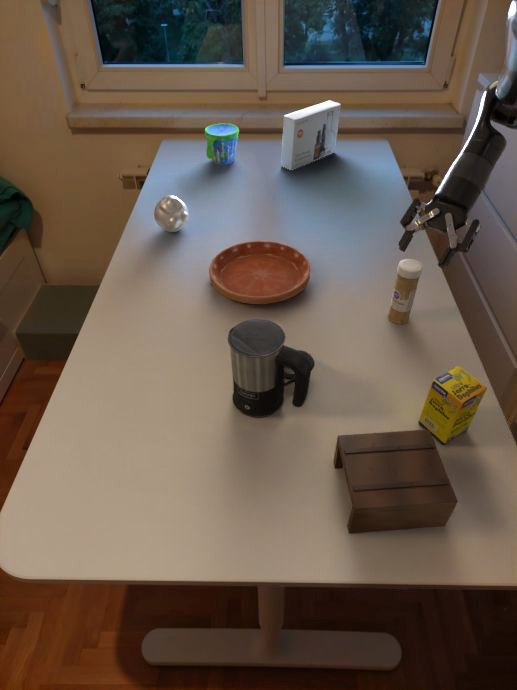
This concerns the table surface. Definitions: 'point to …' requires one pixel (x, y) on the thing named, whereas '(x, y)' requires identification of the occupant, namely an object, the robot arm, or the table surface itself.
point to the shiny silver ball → (171, 214)
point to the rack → (394, 481)
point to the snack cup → (222, 142)
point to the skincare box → (309, 134)
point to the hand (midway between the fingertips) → (420, 258)
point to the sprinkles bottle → (404, 290)
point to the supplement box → (451, 404)
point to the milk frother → (265, 368)
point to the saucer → (259, 272)
